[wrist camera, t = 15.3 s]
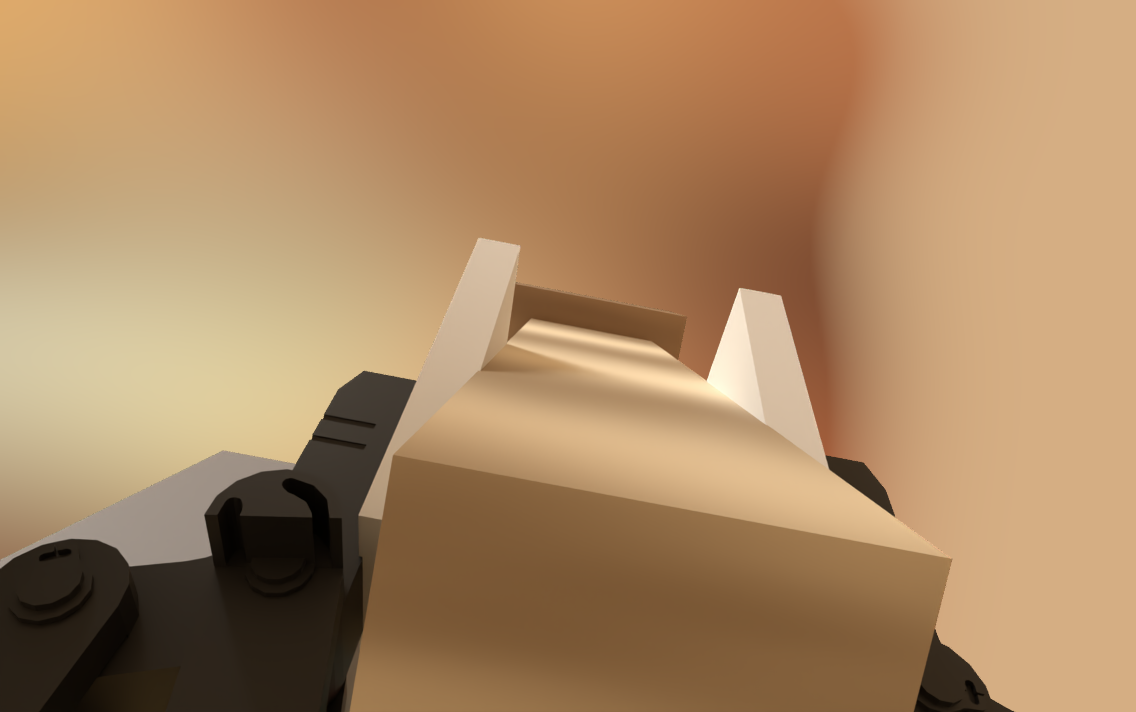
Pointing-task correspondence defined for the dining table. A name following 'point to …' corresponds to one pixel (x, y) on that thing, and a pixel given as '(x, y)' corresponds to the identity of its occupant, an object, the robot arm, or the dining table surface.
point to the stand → (171, 519)
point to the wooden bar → (631, 544)
